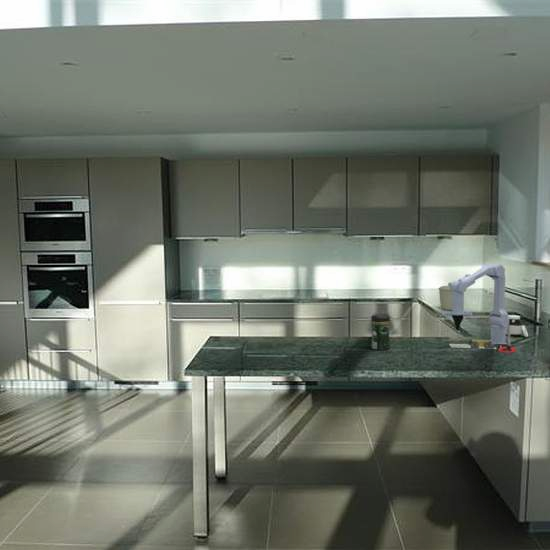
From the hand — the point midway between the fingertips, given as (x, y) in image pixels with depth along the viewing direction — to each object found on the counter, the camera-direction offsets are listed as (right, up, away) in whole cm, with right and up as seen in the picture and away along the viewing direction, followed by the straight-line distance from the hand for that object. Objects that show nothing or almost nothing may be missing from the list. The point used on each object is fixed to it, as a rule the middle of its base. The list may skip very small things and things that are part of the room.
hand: (457, 329), depth 298 cm
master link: (+13, -9, +2) cm, 16 cm away
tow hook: (+23, -11, -8) cm, 27 cm away
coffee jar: (-41, -10, +1) cm, 42 cm away
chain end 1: (+10, -9, +3) cm, 14 cm away
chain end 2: (+17, -9, +1) cm, 19 cm away
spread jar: (+45, -7, +31) cm, 55 cm away
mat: (+9, -10, +3) cm, 14 cm away
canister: (+38, +2, +134) cm, 140 cm away
